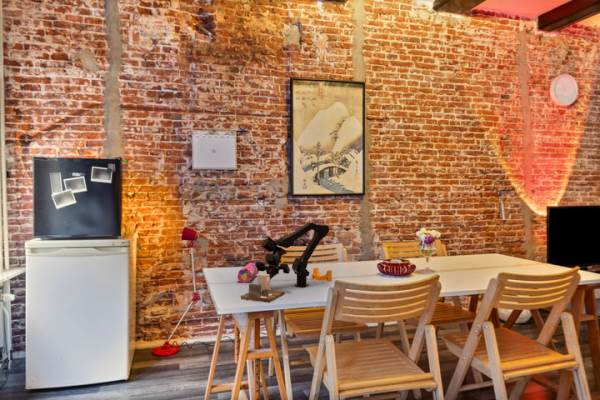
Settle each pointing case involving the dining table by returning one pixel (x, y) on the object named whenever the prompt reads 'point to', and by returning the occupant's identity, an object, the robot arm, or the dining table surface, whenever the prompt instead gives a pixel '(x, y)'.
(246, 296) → the gauge base
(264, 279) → the block
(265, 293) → the reading marker
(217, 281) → the dining table surface
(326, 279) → the pipe clamp
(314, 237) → the robot arm
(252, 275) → the pencil case
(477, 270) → the dining table surface
